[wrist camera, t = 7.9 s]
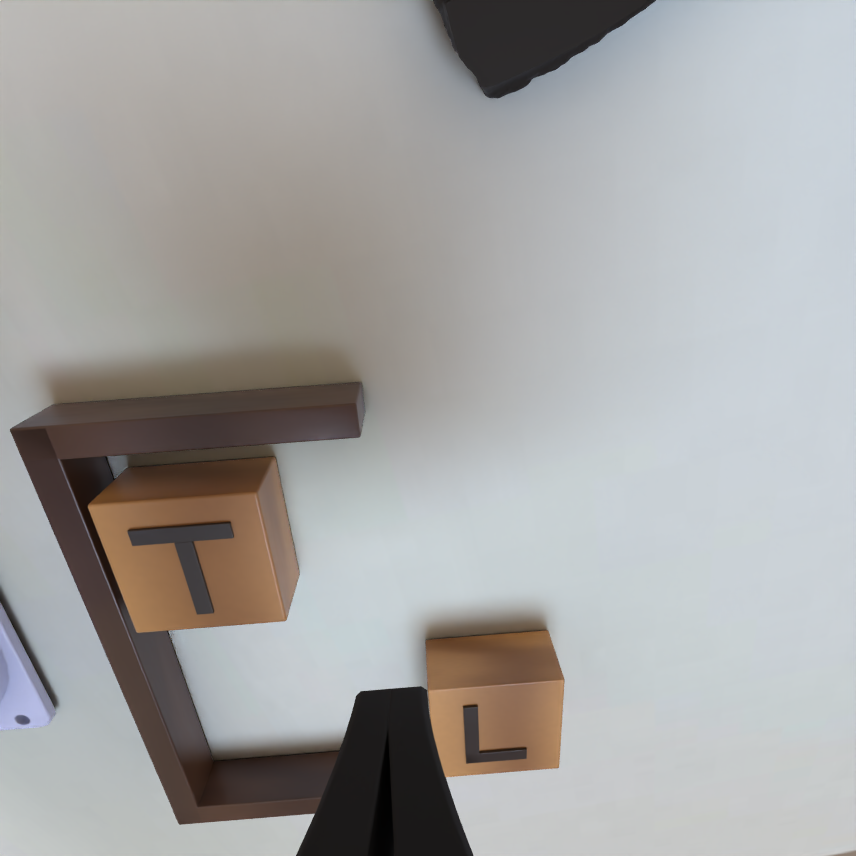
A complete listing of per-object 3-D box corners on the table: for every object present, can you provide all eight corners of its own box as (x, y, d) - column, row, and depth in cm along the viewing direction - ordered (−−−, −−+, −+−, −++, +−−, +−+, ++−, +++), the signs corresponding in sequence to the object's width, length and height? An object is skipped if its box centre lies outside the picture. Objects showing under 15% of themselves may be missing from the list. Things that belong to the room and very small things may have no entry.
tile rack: (195, 778, 22) (178, 825, 20) (52, 403, 15) (7, 428, 13) (407, 760, 22) (407, 806, 20) (361, 381, 15) (356, 403, 13)
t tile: (166, 585, 18) (134, 636, 15) (126, 466, 16) (83, 507, 14) (300, 574, 18) (286, 624, 16) (276, 455, 16) (255, 494, 14)
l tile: (432, 723, 21) (435, 781, 19) (425, 639, 19) (427, 693, 17) (544, 714, 21) (560, 771, 19) (548, 629, 19) (566, 682, 17)
